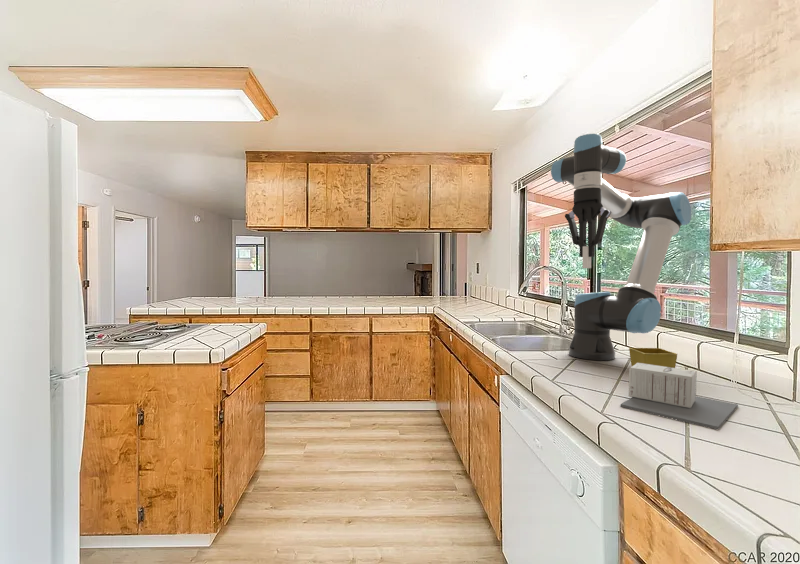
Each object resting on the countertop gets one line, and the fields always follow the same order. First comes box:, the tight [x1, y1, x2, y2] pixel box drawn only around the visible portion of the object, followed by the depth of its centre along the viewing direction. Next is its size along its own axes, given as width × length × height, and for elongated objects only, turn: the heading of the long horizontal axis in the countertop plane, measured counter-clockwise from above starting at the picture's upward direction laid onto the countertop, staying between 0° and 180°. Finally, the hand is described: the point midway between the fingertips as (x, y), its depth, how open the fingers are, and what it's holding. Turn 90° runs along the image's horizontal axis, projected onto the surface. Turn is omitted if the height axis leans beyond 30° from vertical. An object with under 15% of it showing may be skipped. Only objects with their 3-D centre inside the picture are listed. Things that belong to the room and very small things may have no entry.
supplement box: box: [628, 363, 698, 408], centre depth 97 cm, size 7×7×13 cm
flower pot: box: [628, 347, 678, 368], centre depth 114 cm, size 9×9×9 cm
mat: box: [620, 395, 739, 430], centre depth 94 cm, size 20×18×1 cm
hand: (586, 268), depth 122 cm, fingers closed
